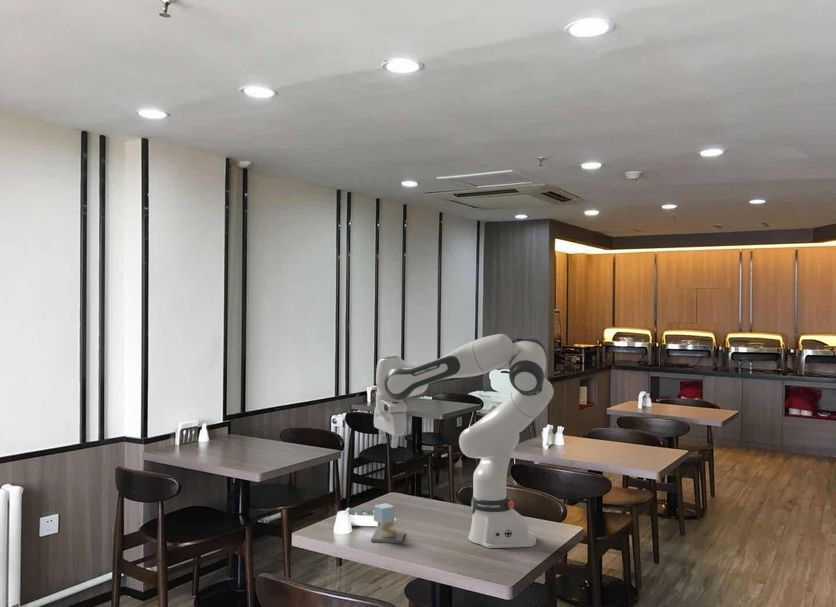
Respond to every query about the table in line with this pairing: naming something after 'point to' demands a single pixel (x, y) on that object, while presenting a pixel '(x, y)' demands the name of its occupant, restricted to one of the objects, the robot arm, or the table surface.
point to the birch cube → (388, 529)
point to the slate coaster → (396, 539)
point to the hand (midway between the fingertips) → (388, 445)
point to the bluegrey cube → (384, 513)
